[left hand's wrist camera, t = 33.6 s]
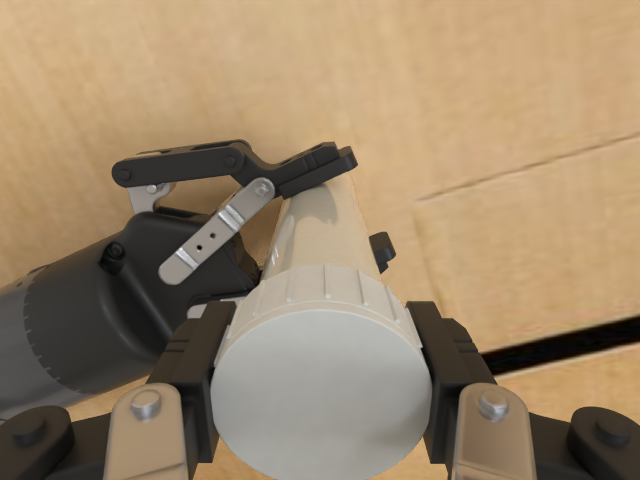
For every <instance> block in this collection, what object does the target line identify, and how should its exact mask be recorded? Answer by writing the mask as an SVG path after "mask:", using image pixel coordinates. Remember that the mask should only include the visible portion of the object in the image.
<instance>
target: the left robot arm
mask: <svg viewBox="0 0 640 480" xmlns="http://www.w3.org/2000/svg"><path fill="white" fill-rule="evenodd" d="M236 308H237V306H236V303H235V301H209V302H208V303H207V305H206V307H205V309H204V311H203V313H202V315H201V318H189V319H188V320H187V321H185V322H184V323H183V324H181V325H180V326H179V327H178V328H177V329H176V330H175V332H174V334H173V336H172V337H171V339H170V342H169V343H168V345H167V346H166V348H165V352H163V353H162V355H161V357H160V359H159V361H158V362H157V364H156V366H155V368H154V369H153V371H152V373H151V375H150V377H149V378H148V380H147V382H146V384H145V385H142V386H139V387H136V388H134V389H132V390H130V391H129V392H127V393H125V394H124V395H123V396H122V397H120V398H119V399H118V401H117V402H116V403H115V405H114V406H113V408H112V412H111V413H108V414H104V415H101V416H97V417H92V418H88V419H84V420H79V421H75V422H71V419H70V415H69V413H68V411H67V410H66V409H64V408H62V407H60V406H54V405H46V406H40V407H35V408H32V409H29V410H26V411H24V412H21V413H19V414H17V415H15V416H13V417H12V418H10V419H9V420H7V421H6V422H4V423H3V424H2V425H1V426H0V480H193V477H194V474H195V471H196V467H197V464H198V463H212V461H213V458H214V454H215V451H216V447H217V443H218V440H219V436H220V435H219V433H218V431H217V429H216V427H215V424H214V419H213V411H212V403H211V394H210V385H211V380H212V377H213V374H214V371H215V368H216V367H214V361H215V359H216V356H217V353H218V350H219V348H220V345H221V342H222V339H223V337H224V334H225V331H226V329H227V326H228V325H231V322H232V320H233V317H234V314H235V311H236ZM405 308H408V310H409V312H410V315H411V317H412V320H413V322H414V325H415V328H416V330H417V333H418V336H419V338H420V341H421V344H422V346H423V347H422V348H420V349H421V351H422V354H423V357H424V360H425V363H426V365H427V368H428V370H429V374H430V377H431V380H432V386H433V389H432V399H431V407H430V415H429V422H428V426H427V429H426V431H425V433H424V434H423V438H424V442H425V445H426V449H427V453H428V456H429V460H430V463H431V464H445V465H446V468H447V471H448V478H447V480H640V426H639V425H638V424H637V423H635V422H634V421H633V420H631V419H629V418H628V417H626V416H624V415H622V414H620V413H617V412H615V411H612V410H609V409H605V408H601V407H583V408H580V409H578V410H576V411H575V412H574V413H573V415H572V418H571V422H570V423H569V422H565V421H561V420H556V419H552V418H548V417H543V416H540V415H536V414H533V413H531V412H528V408H527V406H526V405H525V403H524V402H523V401H522V399H521V398H520V397H518V396H517V395H516V394H515V393H513V392H511V391H510V390H508V389H506V388H504V387H501V386H498V384H497V383H496V381H495V379H494V377H493V376H492V374H491V372H490V370H489V369H488V367H487V365H486V363H485V362H484V360H483V358H482V356H481V355H480V353H478V349H477V348H476V346H475V344H474V343H473V342H472V339H471V337H470V335H469V334H468V332H467V330H466V328H464V327H463V326H462V325H460V324H459V323H458V322H457V321H455V320H454V319H453V318H442V317H441V315H440V313H439V311H438V309H437V307H436V305H435V303H434V302H433V301H408V302H407V303H406V307H405Z"/></svg>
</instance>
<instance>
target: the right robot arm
mask: <svg viewBox="0 0 640 480" xmlns="http://www.w3.org/2000/svg"><path fill="white" fill-rule="evenodd" d="M357 165H358V163H357V161H356V158H355V156H354V154H353V151H352V149H351V147H350V146H347V147H344V148H342V149H339V150H338V149H337V146H336V144H335V142H323V143H321V144H318V145H316V146H314V147H312V148H310V149H308V150H306V151H304V152H301V153H299V154H297V155H295V156H293V157H291V158H289V159H287V160H284V161H282V162H280V163H278V164H268V163H265V162H264V161H262V160H261V159H260V158H259V157H258V156H257V155H256V154H255V153H254V152H253V151H252V148H251V146H250V145H249V144H248V143H247V142H246V141H244V140H241V139H237V140H230V141H222V142H214V143H207V144H199V145H192V146H184V147H177V148H169V149H162V150H154V151H147V152H141V153H138V154H136V155H133V156H131V157H129V158H126V159H124V160H122V161H120V162H117V163H116V164H115V165H114V166H113V168H112V177H113V179H114V181H115V182H116V183H117V184H118V185H120V186H122V187H125V188H127V190H128V193H129V197H130V200H131V203H132V207H133V210H134V213H135V215H134V216H133V217H132V218H131V219H130V220H129V221H128V223H127V225H126V227H125V228H124V229H123V230H122V231H120V232H118V233H116V234H114V235H112V236H110V237H107V238H105V239H103V240H101V241H99V242H97V243H95V244H93V245H90V246H88V247H86V248H84V249H82V250H80V251H78V252H76V253H73V254H71V255H69V256H67V257H65V258H63V259H61V260H59V261H56V262H54V263H52V264H49V265H45V266H42V267H39V268H37V269H34V270H32V271H30V272H29V273H28V274H27V276H25V277H22V278H20V279H18V280H16V281H14V282H12V283H10V284H9V285H7V286H5V287H3V288H2V289H0V426H1V425H2V424H3V423H4V422H6V421H7V420H9V419H10V418H12V417H13V416H15V415H17V414H19V413H21V412H24V411H26V410H29V409H32V408H35V407H40V406H46V405H54V406H60V407H62V408H64V409H65V408H68V407H70V406H73V405H76V404H79V403H81V402H83V401H86V400H88V399H91V398H93V397H96V396H98V395H101V394H103V393H106V392H108V391H111V390H113V389H116V388H118V387H121V386H123V385H126V384H128V383H131V382H133V381H136V380H138V379H141V378H143V377H146V376H148V375H150V374H151V373H152V371H153V369H154V368H155V366H156V364H157V362H158V361H159V359H160V357H161V355H162V353H163V352H165V348H166V346H167V345H168V343H169V342H170V339H171V337H172V336H173V334H174V332H175V330H176V329H177V328H178V327H179V326H180V325H181V324H183V323H184V322H185V321H187V320H188V319H189V318H201V315H202V313H203V311H204V309H205V307H206V305H207V303H208V302H209V301H235V303H236V306H237V305H238V303H239V301H240V300H242V301H243V300H244V299H245V298H246V297H247V296H248V294H249V293H250V292H251V291H252V290H253V289H255V288H256V287H257V286H258V285H259V282H260V278H261V275H262V272H263V268H264V266H260V267H258V265H257V263H256V261H255V260H254V259H253V258H252V257H251V256H250V255H249V254H248V253H247V252H246V251H245V249H244V245H243V241H242V237H241V235H240V233H239V230H240V229H241V227H242V226H243V225H244V224H245V223H246V222H247V221H248V220H249V219H250V218H252V217H253V216H254V215H255V214H256V213H257V212H258V211H260V210H261V209H262V208H263V207H264V206H265V205H266V204H268V203H269V202H270V201H271V200H272V199H274V198H277V197H279V196H281V195H282V197H283V199H284V200H286V199H288V198H290V197H293V196H295V195H297V194H299V193H301V192H303V191H306V190H308V189H310V188H312V187H315V186H317V185H319V184H321V183H323V182H326V181H328V180H330V179H332V178H335V177H337V176H339V175H341V174H343V173H346V172H348V171H350V170H352V169H354V168H355V167H356V166H357ZM224 175H231V176H232V177H233V178H234V179H235V180H236V181H237V182H238V183H239V184H240V185H242V186H241V187H240V188H239V189H238V190H237V191H235V192H234V193H233V194H231V195H230V196H229V197H228V198H227V199H226V200H225V201H224V202H223V203H222V204H220V205H219V206H218V207H217V208H216V209H215V210H214V211H213V212H212V213H211V214H209V215H206V214H201V213H195V212H190V211H184V210H179V209H174V208H168V207H163V206H160V205H159V201H160V198H162V197H164V196H166V195H167V194H169V193H170V192H171V191H172V190H174V188H175V187H176V182H178V181H186V180H193V179H201V178H209V177H217V176H224ZM369 239H370V242H371V245H372V249H373V252H374V255H375V258H376V262H377V265H378V268H379V272H380V274H381V273H383V272H384V271H385V270H386V269H387V268H388V264H387V262H388V261H390V260H391V259H393V258H394V257H395V256H396V252H395V250H394V248H393V245H392V243H391V241H390V238H389V236H388V234H387V232H380V233H377V234H374V235H372V236H370V237H369Z"/></svg>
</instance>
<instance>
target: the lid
mask: <svg viewBox="0 0 640 480" xmlns="http://www.w3.org/2000/svg"><path fill="white" fill-rule="evenodd" d="M422 347H423V346H422V344H421V341H420V338H419V336H418V333H417V330H416V328H415V325H414V322H413V320H412V317H411V315H410V312H409V310H408V308H404V307H403V305H402V304H401V302H400V301H399V299H398V298H397V297H396V296H395V295H394V294H393V293H392V292H391V289H390V287H389V286H388V285H387V286H386V287H385V286H384V285H383V284H382V283H380V282H378V281H377V280H375V279H374V278H372V277H370V276H368V275H366V274H364V273H363V272H362V271H361V270H358V271H356V270H353V269H349V268H346V267H340V266H335V265H329V264H326V263H325V265H308V266H302V267H297V268H295V267H291V269H290V270H287V271H283V272H281V273H279V274H277V275H274V276H272V277H271V278H269V279H267V280H266V281H265V280H264V279H263V280H262V281H261V282H260V285H258V286H257V287H256V288H255V289H253V290H252V291H251V292H250V293H249V294H248V296H247V297H246V298H245V299H244V300H243V301H242V300H240V301H239V303H238V305H237V308H236V311H235V314H234V317H233V320H232V322H231V325H228V326H227V329H226V331H225V334H224V337H223V339H222V342H221V345H220V348H219V350H218V353H217V356H216V359H215V361H214V367H216V368H215V371H214V374H213V377H212V380H211V385H210V394H211V403H212V411H213V419H214V424H215V427H216V429H217V431H218V433H219V435H220V437H221V439H222V440H223V441H224V443H225V444H226V445H227V447H228V448H229V449H230V450H231V451H232V452H233V453H234V454H235V455H236V456H237V457H238V458H239V459H240V460H242V461H243V462H244V463H245V464H247V465H248V466H250V467H251V468H253V469H255V470H256V471H258V472H260V473H262V474H264V475H266V476H268V477H271V478H274V479H277V480H366V479H369V478H372V477H374V476H376V475H378V474H380V473H383V472H385V471H386V470H388V469H389V468H391V467H393V466H394V465H396V464H397V463H398V462H400V461H401V460H402V459H404V458H405V457H406V456H407V455H408V454H409V453H410V452H411V451H412V450H413V449H414V447H415V446H416V445H417V444H418V442H419V441H420V440H421V438H422V436H423V434H424V433H425V431H426V429H427V426H428V422H429V415H430V407H431V399H432V389H433V386H432V380H431V377H430V374H429V370H428V368H427V365H426V363H425V360H424V357H423V354H422V351H421V349H420V348H422Z"/></svg>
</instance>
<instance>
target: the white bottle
mask: <svg viewBox="0 0 640 480" xmlns="http://www.w3.org/2000/svg"><path fill="white" fill-rule="evenodd" d="M325 263H326V264H329V265H335V266H340V267H346V268H349V269H353V270H356V271H358V270H361V271H362V272H363V273H364V274H366V275H368V276H370V277H372V278H374V279H375V280H377V281H378V282H380V283H382V284H383V282H382V278H381V275H380V272H379V268H378V265H377V262H376V258H375V255H374V252H373V249H372V245H371V242H370V239H369V235H368V232H367V229H366V225H365V222H364V219H363V215H362V212H361V209H360V205H359V202H358V199H357V195H356V192H355V189H354V185H353V182H352V179H351V177H350V175H349V173H348V172H346V173H343V174H341V175H339V176H337V177H335V178H332V179H330V180H328V181H326V182H323V183H321V184H319V185H317V186H315V187H312V188H310V189H308V190H306V191H303V192H301V193H299V194H297V195H295V196H293V197H290V198H288V199H286V200H284V199H283V203H282V206H281V210H280V213H279V217H278V220H277V223H276V227H275V230H274V234H273V237H272V241H271V244H270V247H269V251H268V254H267V258H266V261H265V265H264V268H263V272H262V275H261V278H260V282H261V281H262V280H263V279H264V280H265V281H266V280H267V279H269V278H271V277H272V276H274V275H277V274H279V273H281V272H283V271H287V270H290V269H291V267H295V268H297V267H302V266H308V265H325ZM260 282H259V285H260Z"/></svg>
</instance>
